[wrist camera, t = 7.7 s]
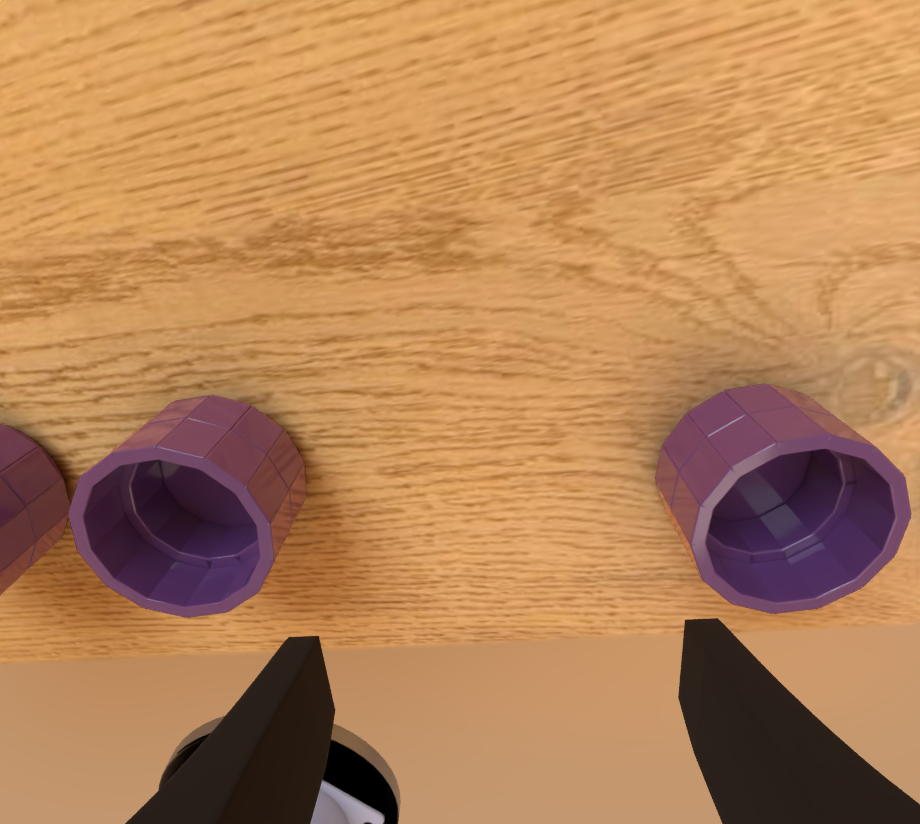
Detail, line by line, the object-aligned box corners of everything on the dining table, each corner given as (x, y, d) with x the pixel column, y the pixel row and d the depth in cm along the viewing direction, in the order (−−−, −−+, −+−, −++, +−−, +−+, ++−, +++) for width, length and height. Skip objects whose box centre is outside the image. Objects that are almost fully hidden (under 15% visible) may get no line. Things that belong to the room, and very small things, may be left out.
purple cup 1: (253, 562, 21) (207, 647, 18) (114, 471, 20) (33, 543, 16) (344, 461, 20) (314, 533, 16) (198, 354, 18) (129, 405, 15)
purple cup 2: (727, 557, 21) (780, 644, 17) (615, 463, 19) (648, 536, 16) (862, 453, 19) (954, 525, 15) (751, 341, 18) (822, 392, 14)
